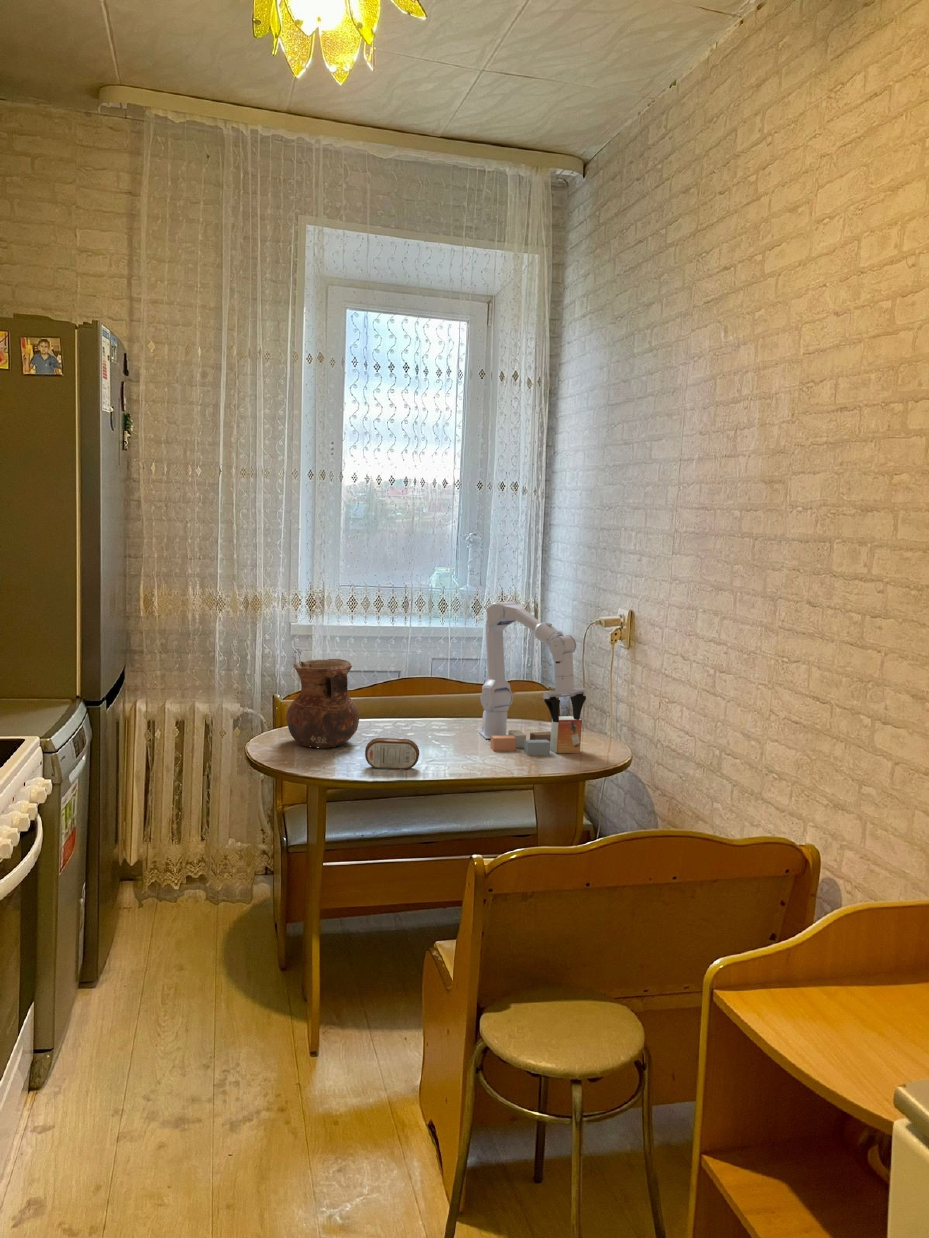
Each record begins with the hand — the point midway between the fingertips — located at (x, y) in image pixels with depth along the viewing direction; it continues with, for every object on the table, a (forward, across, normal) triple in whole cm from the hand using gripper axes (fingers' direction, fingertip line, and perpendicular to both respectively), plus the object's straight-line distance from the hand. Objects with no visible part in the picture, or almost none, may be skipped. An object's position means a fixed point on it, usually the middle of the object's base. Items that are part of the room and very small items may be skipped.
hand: (566, 720), depth 276 cm
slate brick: (+10, -7, +6) cm, 14 cm away
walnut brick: (+9, 0, +14) cm, 17 cm away
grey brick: (+8, -7, +17) cm, 20 cm away
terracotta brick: (+9, -14, +14) cm, 22 cm away
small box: (+10, +3, +5) cm, 12 cm away
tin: (+8, -56, +6) cm, 56 cm away
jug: (+4, -64, +38) cm, 74 cm away
